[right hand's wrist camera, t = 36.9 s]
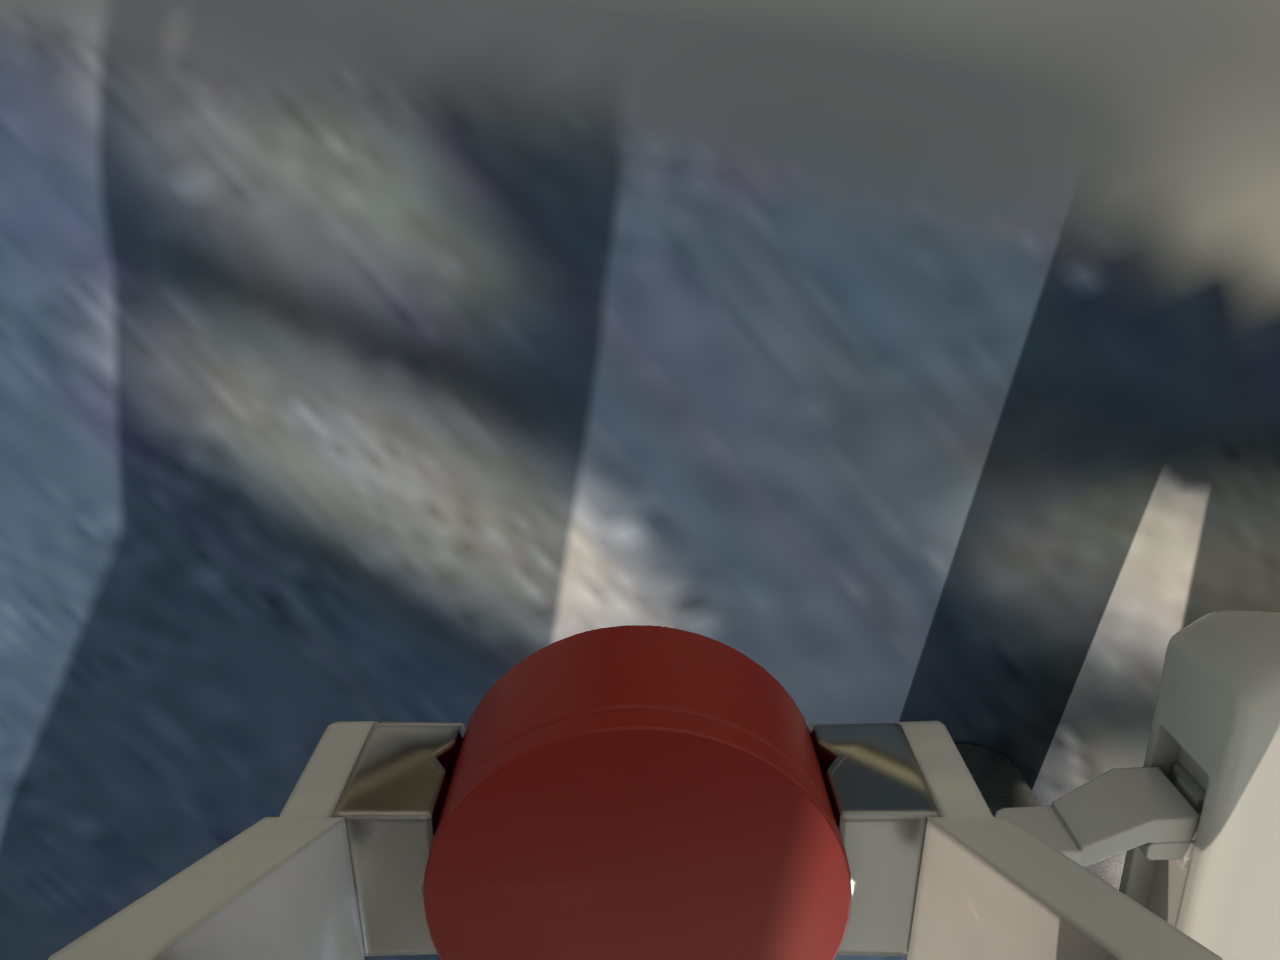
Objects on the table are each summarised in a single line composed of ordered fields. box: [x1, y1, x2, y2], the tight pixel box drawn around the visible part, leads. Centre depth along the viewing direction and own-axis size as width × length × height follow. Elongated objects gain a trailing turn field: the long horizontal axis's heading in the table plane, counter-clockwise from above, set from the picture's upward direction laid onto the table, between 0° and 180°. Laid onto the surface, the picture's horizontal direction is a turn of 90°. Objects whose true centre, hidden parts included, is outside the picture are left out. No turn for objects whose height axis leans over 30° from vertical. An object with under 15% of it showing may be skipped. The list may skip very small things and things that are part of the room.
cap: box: [423, 626, 852, 960], centre depth 9 cm, size 4×4×2 cm
